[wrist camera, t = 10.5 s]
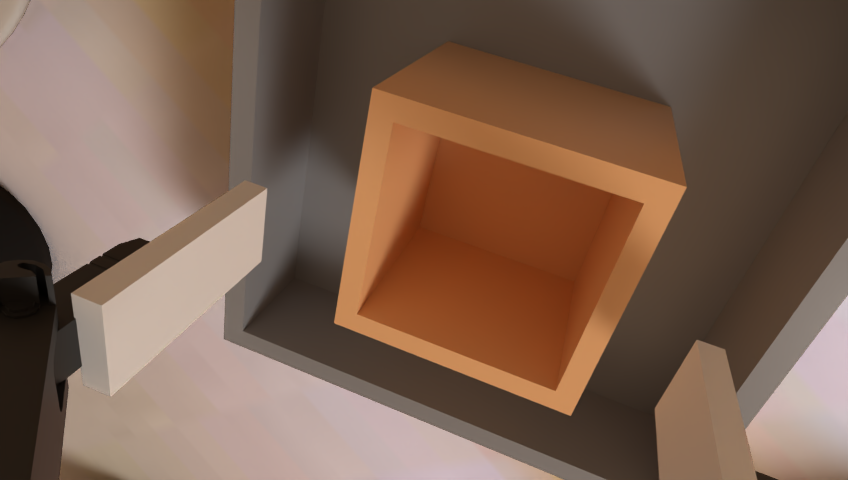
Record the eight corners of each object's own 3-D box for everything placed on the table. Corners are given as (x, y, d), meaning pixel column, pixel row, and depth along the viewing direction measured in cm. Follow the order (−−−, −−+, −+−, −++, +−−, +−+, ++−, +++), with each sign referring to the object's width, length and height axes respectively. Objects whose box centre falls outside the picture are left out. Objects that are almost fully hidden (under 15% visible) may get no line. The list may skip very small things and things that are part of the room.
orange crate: (406, 228, 28) (334, 323, 21) (448, 41, 23) (372, 87, 17) (587, 292, 26) (570, 415, 20) (671, 107, 22) (687, 186, 15)
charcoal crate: (285, 276, 33) (223, 338, 28) (332, -188, 22) (241, -222, 17) (666, 423, 30) (672, 524, 25) (964, -37, 18) (1090, -23, 13)
